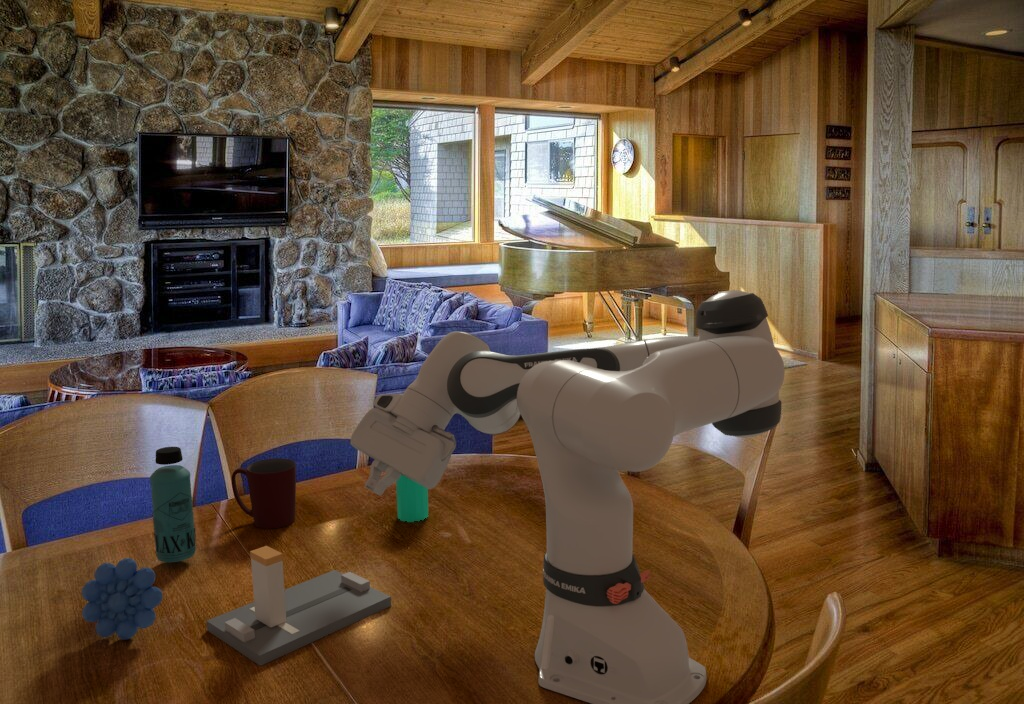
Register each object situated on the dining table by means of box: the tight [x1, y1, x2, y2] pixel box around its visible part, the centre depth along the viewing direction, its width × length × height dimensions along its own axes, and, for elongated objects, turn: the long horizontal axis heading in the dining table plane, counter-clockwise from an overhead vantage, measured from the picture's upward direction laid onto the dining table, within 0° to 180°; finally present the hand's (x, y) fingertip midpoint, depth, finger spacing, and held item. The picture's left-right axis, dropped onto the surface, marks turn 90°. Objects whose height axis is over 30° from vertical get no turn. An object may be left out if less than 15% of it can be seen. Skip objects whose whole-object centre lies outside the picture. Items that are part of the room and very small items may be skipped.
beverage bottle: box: [149, 446, 197, 563], centre depth 142 cm, size 6×7×20 cm
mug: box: [231, 457, 297, 530], centre depth 160 cm, size 12×9×11 cm
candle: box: [395, 474, 429, 523], centre depth 162 cm, size 6×6×12 cm
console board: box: [206, 569, 392, 667], centre depth 124 cm, size 14×22×3 cm, turn 138°
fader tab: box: [249, 545, 286, 628], centre depth 119 cm, size 4×3×10 cm, turn 48°
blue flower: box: [80, 557, 163, 641], centre depth 119 cm, size 12×7×12 cm, turn 86°
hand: (372, 491), depth 136 cm, fingers closed
